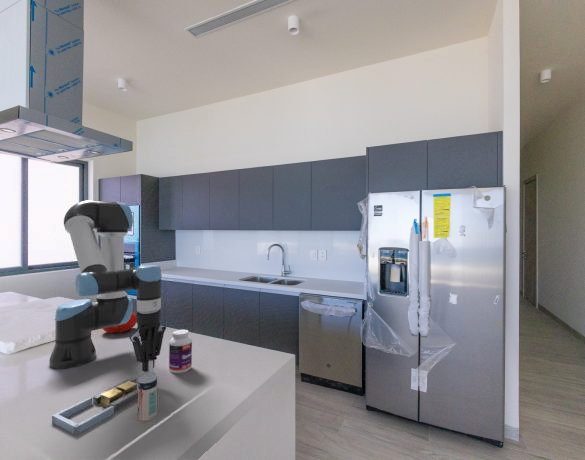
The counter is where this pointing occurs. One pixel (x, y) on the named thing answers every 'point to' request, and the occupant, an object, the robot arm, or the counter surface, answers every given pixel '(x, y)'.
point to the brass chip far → (127, 387)
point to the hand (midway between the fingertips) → (148, 379)
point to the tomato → (122, 325)
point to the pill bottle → (180, 352)
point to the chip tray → (77, 428)
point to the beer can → (147, 396)
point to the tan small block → (110, 397)
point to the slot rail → (121, 401)
